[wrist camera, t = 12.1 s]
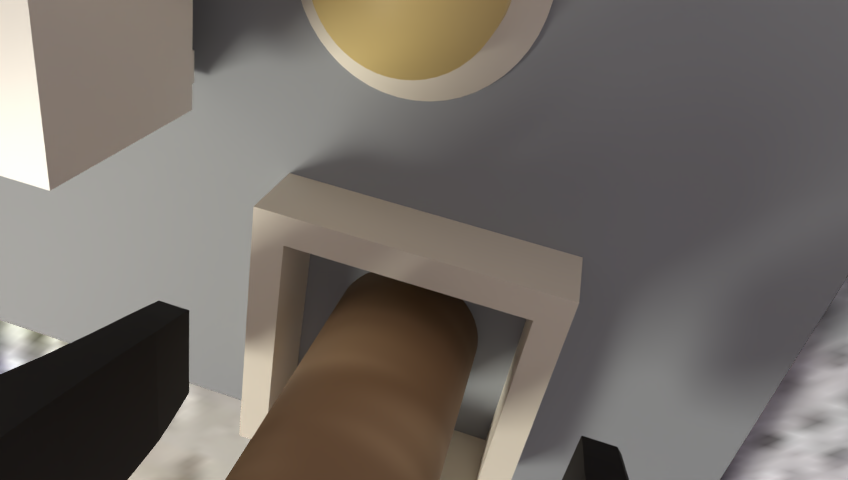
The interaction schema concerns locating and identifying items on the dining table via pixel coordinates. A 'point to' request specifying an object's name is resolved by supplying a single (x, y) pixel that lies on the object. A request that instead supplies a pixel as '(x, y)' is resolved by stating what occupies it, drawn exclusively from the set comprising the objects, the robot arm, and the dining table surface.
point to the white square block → (88, 81)
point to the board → (483, 210)
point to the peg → (370, 390)
